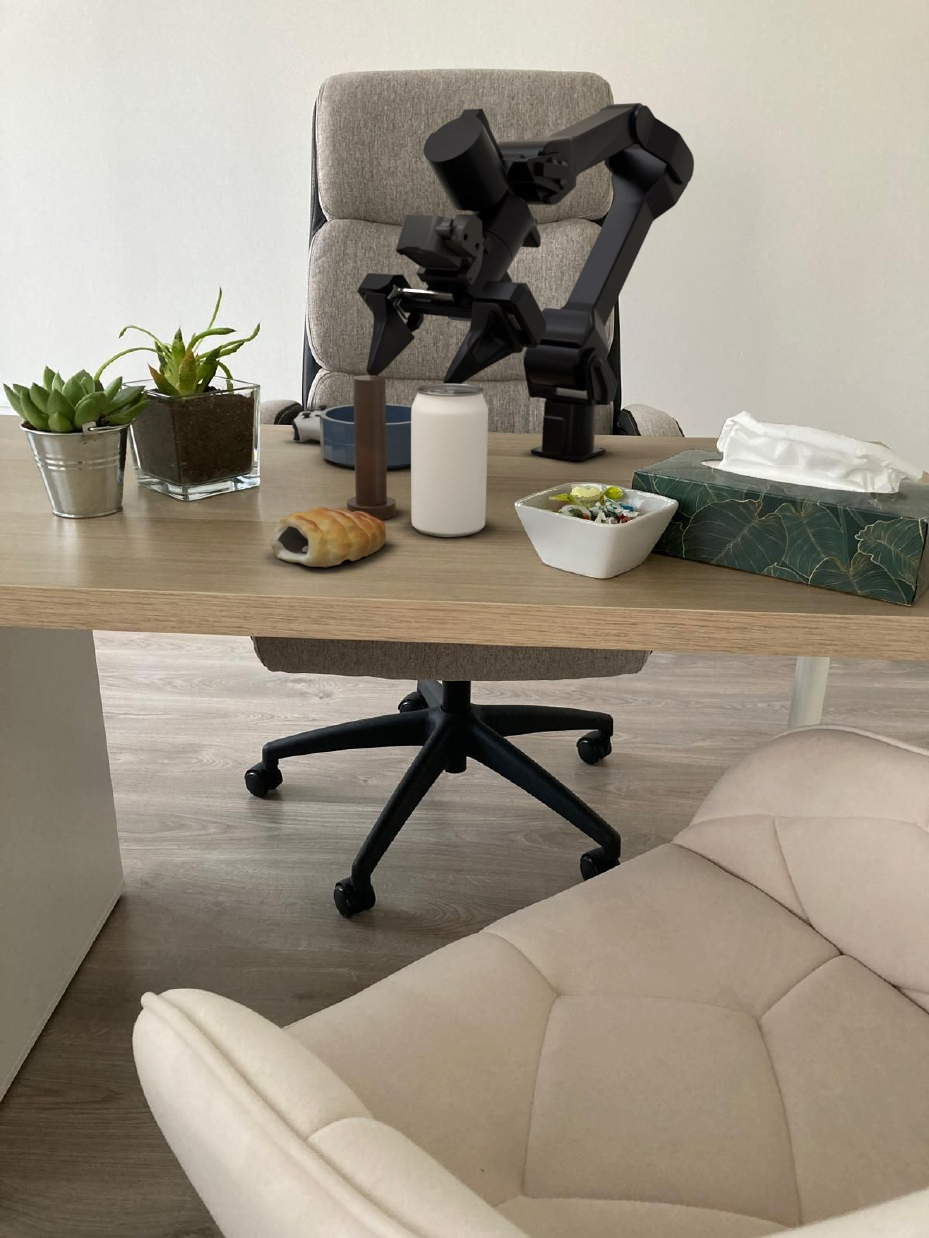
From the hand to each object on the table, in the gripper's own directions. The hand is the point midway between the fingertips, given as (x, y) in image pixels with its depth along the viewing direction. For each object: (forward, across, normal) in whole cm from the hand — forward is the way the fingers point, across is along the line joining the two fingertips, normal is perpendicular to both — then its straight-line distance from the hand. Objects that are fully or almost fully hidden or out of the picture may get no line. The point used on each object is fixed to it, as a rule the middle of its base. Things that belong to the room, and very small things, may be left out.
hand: (407, 380), depth 93 cm
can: (+11, +8, +6) cm, 15 cm away
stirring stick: (+12, 0, +5) cm, 12 cm away
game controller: (-3, -27, +19) cm, 33 cm away
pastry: (+19, +5, -3) cm, 20 cm away
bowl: (0, -15, +16) cm, 22 cm away
